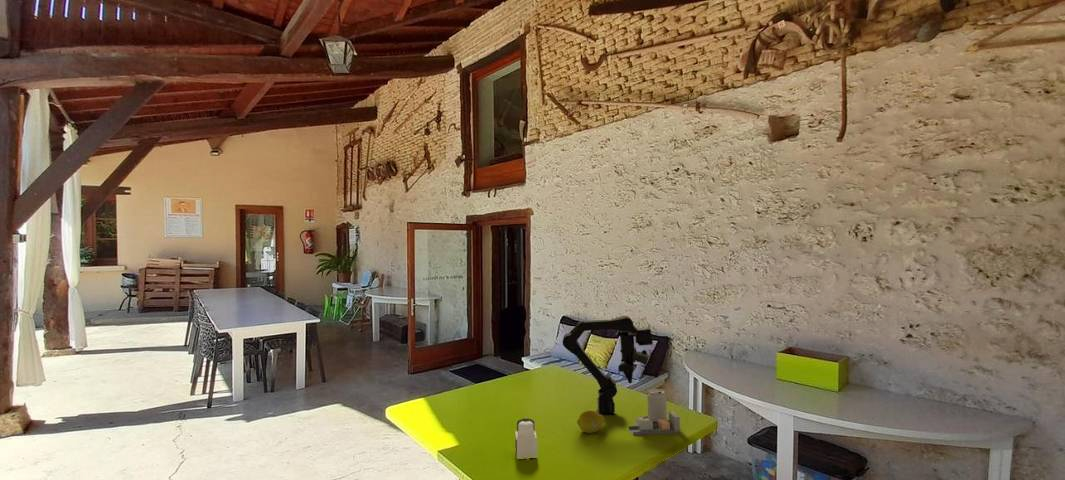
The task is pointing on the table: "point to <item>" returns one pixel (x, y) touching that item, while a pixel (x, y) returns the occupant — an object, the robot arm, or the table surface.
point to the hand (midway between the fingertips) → (630, 382)
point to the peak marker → (663, 424)
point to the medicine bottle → (525, 439)
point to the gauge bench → (673, 421)
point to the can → (657, 405)
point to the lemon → (590, 421)
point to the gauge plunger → (644, 423)
